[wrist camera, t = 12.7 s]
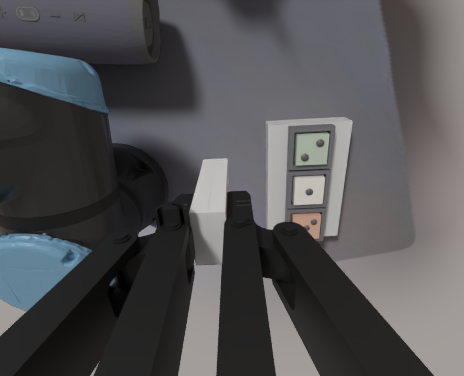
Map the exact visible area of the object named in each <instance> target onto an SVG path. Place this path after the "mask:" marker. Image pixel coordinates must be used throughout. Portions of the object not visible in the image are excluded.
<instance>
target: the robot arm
mask: <svg viewBox="0 0 464 376" xmlns="http://www.w3.org/2000/svg"><path fill="white" fill-rule="evenodd" d="M108 113H109V110H108V108H107V107H106V104H105V100H104V96H103V91H102V86H101V82H100V78H99V76H98V74H97V72H96V71H95V69H94V68H93V67H92V66H90V65H89V64H88V63H86V62H84V61H82V60H78V59H73V58H68V57H62V56H55V55H49V54H42V53H36V52H29V51H22V50H15V49H7V48H0V299H1V300H3V301H5V302H6V303H8V304H10V305H12V306H14V307H17V308H19V309H22V310H24V311H27V312H26V313H25V314H24V315H23V316H22V317H20V318H19V319H18V320H17V321H16V322H15V323H14V324H13V325H12V326H11V327H10V328H9V329H8V330H7V331H5V332H4V333H3V334H2V335H1V336H0V376H90V375H91V373H92V372H93V370H94V368H95V367H96V366H97V364H98V363H99V364H98V367H97V369H96V371H95V374H94V376H178V371H179V366H180V360H181V354H182V348H183V341H184V336H185V330H186V324H187V317H188V311H189V305H190V299H191V293H192V287H193V281H194V275H195V271H194V259H195V262H196V265H215V264H222V275H221V295H220V315H219V335H218V355H217V356H218V357H217V375H216V376H276V373H275V366H274V358H273V351H272V343H271V336H270V328H269V321H268V314H267V306H266V299H265V292H264V285H263V277H265V278H270V279H272V282H273V285H274V287H275V289H276V291H277V293H278V295H279V297H280V299H281V301H282V302H283V304H284V306H285V308H286V310H287V312H288V314H289V316H290V318H291V320H292V322H293V324H294V326H295V328H296V330H297V332H298V334H299V336H300V337H301V339H302V341H303V343H304V345H305V347H306V349H307V351H308V353H309V355H310V357H311V359H312V361H313V363H314V365H315V367H316V369H317V371H318V372H319V374H320V376H434V375H433V374H432V373H431V372H430V371H429V370H428V368H427V367H426V366H425V365H424V364H423V363H422V361H421V360H420V359H419V358H418V357H417V356H416V355H415V353H414V352H413V351H412V350H411V349H410V348H409V347H408V345H407V344H406V343H405V342H404V341H403V340H402V339H401V338H400V336H399V335H398V334H397V333H396V332H395V331H394V329H393V328H392V327H391V326H390V325H389V324H388V323H387V321H386V320H385V319H384V318H383V317H382V316H381V315H380V313H379V312H378V311H377V310H376V309H375V308H374V307H373V305H372V304H371V303H370V302H369V301H368V300H367V299H366V298H365V296H364V295H363V294H362V293H361V292H360V291H359V290H358V288H357V287H356V286H355V285H354V284H353V283H352V281H351V280H350V279H349V278H348V277H347V276H346V275H345V273H344V272H343V271H342V270H341V269H340V268H339V267H338V265H337V264H336V263H335V262H334V261H333V260H332V259H331V257H330V256H329V255H328V254H327V253H326V252H325V251H324V249H323V248H322V247H321V246H320V245H319V244H318V242H317V241H316V240H315V239H314V238H313V237H312V236H311V234H310V233H309V232H308V231H307V230H306V229H305V228H304V227H303V226H302V225H300V224H298V223H295V222H281V223H278V224H276V225H275V226H274V228H273V230H270V229H265V228H262V227H260V226H258V225H257V224H256V223H255V221H254V219H253V212H252V205H251V197H250V194H249V193H248V192H247V191H231V192H229V175H228V158H225V159H204V160H203V163H202V167H201V171H200V174H199V178H198V182H197V186H196V189H195V193H194V194H180V195H179V196H178V197H177V198H176V199H175V200H174V202H169V203H166V201H167V198H168V184H167V180H166V177H165V174H164V172H163V171H162V169H161V167H160V166H159V165H158V163H157V162H156V161H155V160H154V159H153V158H152V157H151V156H149V155H148V154H147V153H145V152H143V151H142V150H140V149H138V148H135V147H133V146H130V145H125V144H117V143H113V144H112V140H111V133H110V126H109V120H108ZM155 220H156V223H157V229H156V231H155V233H153V234H150V235H147V236H142V237H138V234H139V232H140V231H141V230H143V229H144V228H145V227H147V226H149V225H150V224H152V223H153V222H154V221H155ZM99 361H100V362H99Z"/></svg>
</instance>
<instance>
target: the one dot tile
mask: <svg viewBox="0 0 464 376" xmlns="http://www.w3.org/2000/svg"><path fill="white" fill-rule="evenodd" d="M324 185H325V177H324V175H323V174H320V175H299V176H292V198H291V199H292V202H293V204H294V205H309V204H323V195H324Z"/></svg>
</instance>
